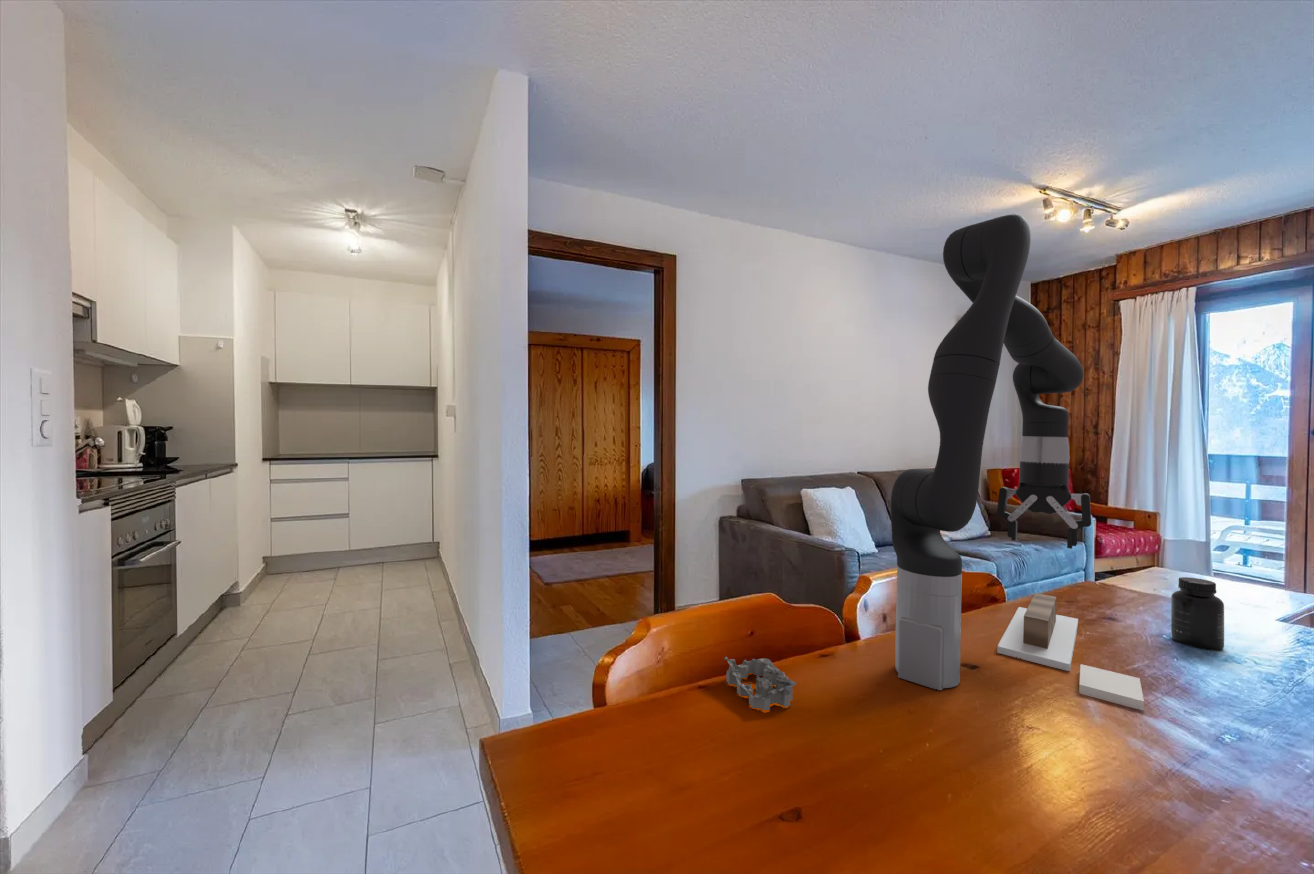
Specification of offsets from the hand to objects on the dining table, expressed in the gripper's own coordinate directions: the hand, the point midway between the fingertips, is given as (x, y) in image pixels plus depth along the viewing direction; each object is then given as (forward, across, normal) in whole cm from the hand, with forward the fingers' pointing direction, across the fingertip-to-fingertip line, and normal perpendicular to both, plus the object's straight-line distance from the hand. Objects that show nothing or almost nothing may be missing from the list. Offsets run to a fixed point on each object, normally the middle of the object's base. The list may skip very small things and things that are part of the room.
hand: (1041, 544), depth 95 cm
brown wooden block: (+17, 0, 0) cm, 17 cm away
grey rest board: (+18, 0, 0) cm, 18 cm away
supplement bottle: (+18, +22, +18) cm, 34 cm away
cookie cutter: (+20, -29, -55) cm, 65 cm away
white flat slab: (+18, +10, -13) cm, 24 cm away
